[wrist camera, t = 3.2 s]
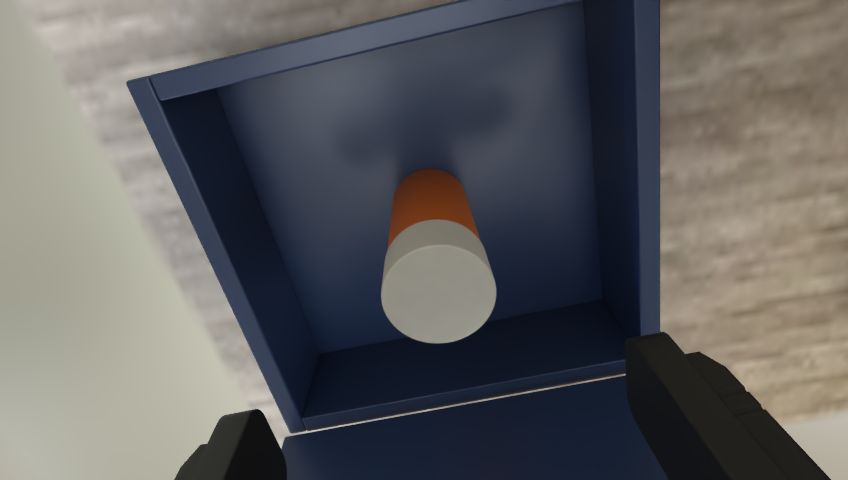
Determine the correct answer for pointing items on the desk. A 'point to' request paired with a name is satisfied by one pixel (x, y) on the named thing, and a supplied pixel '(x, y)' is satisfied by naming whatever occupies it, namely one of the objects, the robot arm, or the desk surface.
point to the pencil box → (416, 150)
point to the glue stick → (435, 262)
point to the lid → (489, 441)
